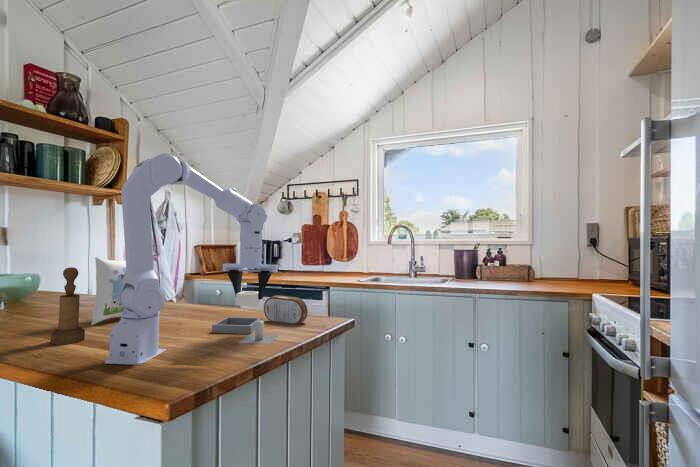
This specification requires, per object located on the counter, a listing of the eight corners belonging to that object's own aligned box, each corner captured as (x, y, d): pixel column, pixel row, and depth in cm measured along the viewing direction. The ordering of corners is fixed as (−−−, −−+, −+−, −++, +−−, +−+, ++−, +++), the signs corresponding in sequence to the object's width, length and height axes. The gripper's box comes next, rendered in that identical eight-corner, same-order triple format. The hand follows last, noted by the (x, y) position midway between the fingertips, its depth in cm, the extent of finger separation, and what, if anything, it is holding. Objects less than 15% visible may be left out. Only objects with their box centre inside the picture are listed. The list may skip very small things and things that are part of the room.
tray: (250, 335, 98) (251, 326, 98) (211, 334, 98) (212, 324, 98) (261, 326, 108) (261, 317, 108) (226, 325, 109) (226, 317, 109)
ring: (262, 302, 101) (262, 291, 101) (256, 305, 95) (256, 294, 95) (242, 301, 101) (242, 291, 101) (235, 305, 96) (236, 293, 96)
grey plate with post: (271, 346, 88) (271, 325, 88) (238, 345, 88) (238, 324, 89) (278, 337, 96) (278, 318, 96) (248, 336, 96) (248, 317, 97)
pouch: (81, 324, 107) (84, 256, 107) (141, 313, 125) (143, 254, 125) (99, 327, 104) (102, 257, 104) (158, 315, 121) (160, 255, 122)
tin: (307, 325, 112) (308, 297, 112) (302, 327, 109) (303, 299, 109) (267, 319, 118) (268, 293, 119) (261, 321, 115) (262, 295, 116)
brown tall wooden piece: (65, 345, 85) (68, 268, 86) (43, 343, 87) (46, 267, 87) (91, 338, 92) (93, 267, 92) (69, 336, 93) (72, 266, 93)
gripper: (280, 248, 102) (279, 297, 102) (229, 247, 103) (228, 295, 102) (274, 248, 95) (273, 301, 95) (220, 247, 96) (218, 299, 95)
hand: (249, 298), depth 98 cm, fingers closed on ring, 5 cm apart
